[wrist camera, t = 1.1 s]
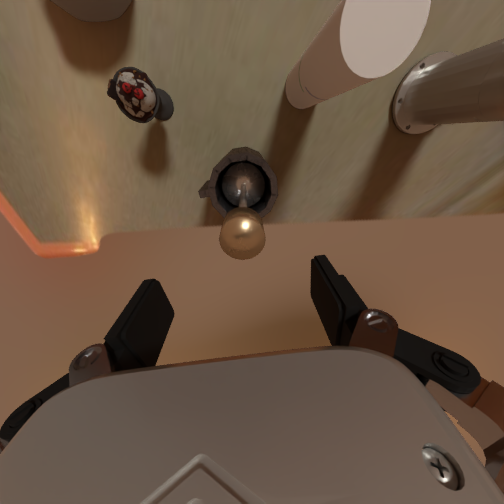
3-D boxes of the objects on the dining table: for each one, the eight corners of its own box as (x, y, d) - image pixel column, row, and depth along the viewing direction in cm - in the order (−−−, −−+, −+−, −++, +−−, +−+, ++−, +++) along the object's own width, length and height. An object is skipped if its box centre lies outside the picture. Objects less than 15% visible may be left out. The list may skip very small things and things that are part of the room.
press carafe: (264, 143, 42) (274, 147, 28) (269, 194, 48) (279, 218, 34) (204, 153, 43) (185, 162, 29) (216, 202, 48) (205, 229, 35)
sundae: (184, 104, 38) (154, 89, 25) (166, 132, 40) (129, 132, 28) (154, 72, 36) (104, 37, 23) (136, 104, 38) (81, 89, 25)
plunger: (262, 159, 33) (283, 189, 15) (266, 202, 37) (288, 269, 19) (218, 166, 33) (186, 204, 15) (227, 208, 37) (210, 279, 19)
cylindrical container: (303, 117, 40) (372, 98, 18) (277, 90, 37) (321, 31, 16) (330, 81, 37) (447, 9, 16) (304, 49, 35) (400, -88, 13)
